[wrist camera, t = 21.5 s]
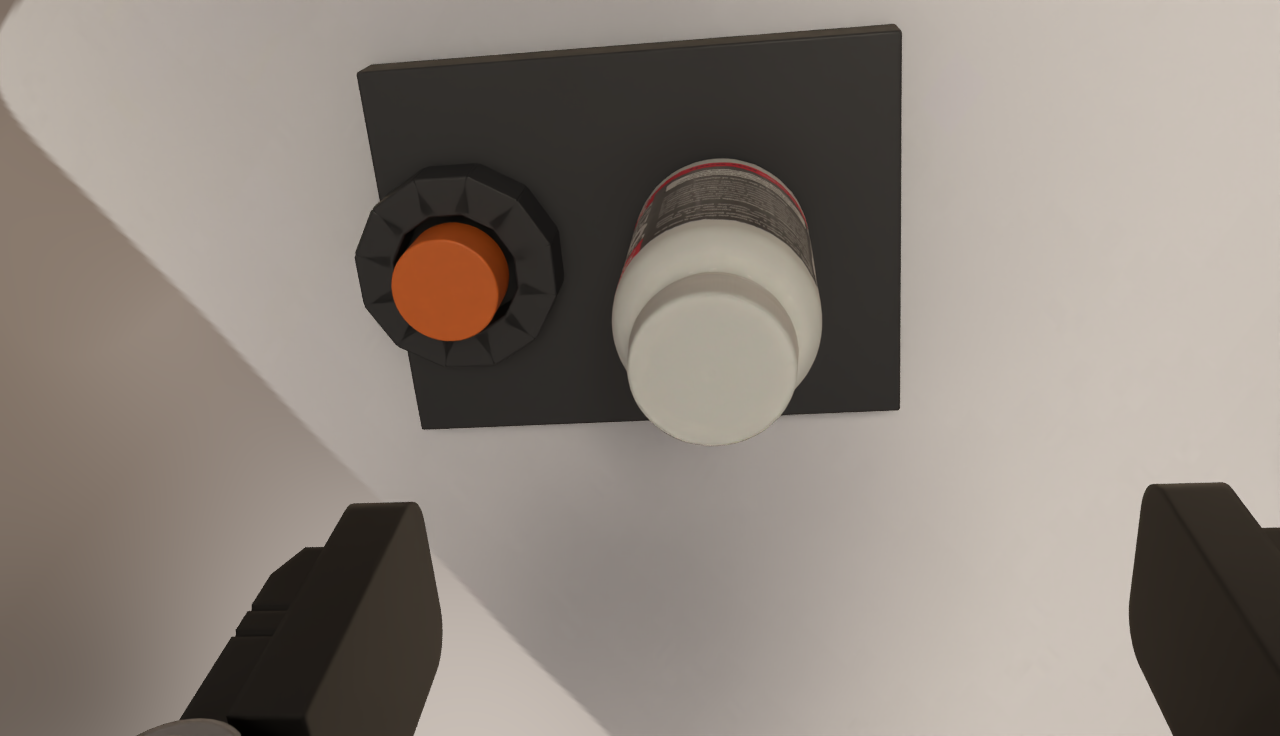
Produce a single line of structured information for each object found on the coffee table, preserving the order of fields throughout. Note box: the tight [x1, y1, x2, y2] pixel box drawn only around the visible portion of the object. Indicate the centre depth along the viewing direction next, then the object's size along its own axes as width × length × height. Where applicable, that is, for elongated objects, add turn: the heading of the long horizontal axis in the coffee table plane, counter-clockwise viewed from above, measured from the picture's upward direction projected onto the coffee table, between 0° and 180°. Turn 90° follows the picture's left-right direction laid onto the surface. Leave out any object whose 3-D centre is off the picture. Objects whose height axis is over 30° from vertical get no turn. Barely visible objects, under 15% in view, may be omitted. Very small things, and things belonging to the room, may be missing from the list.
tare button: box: [391, 222, 509, 341], centre depth 34 cm, size 3×3×2 cm
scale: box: [355, 24, 902, 430], centre depth 35 cm, size 17×12×3 cm
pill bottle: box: [612, 159, 822, 446], centre depth 31 cm, size 5×5×10 cm
